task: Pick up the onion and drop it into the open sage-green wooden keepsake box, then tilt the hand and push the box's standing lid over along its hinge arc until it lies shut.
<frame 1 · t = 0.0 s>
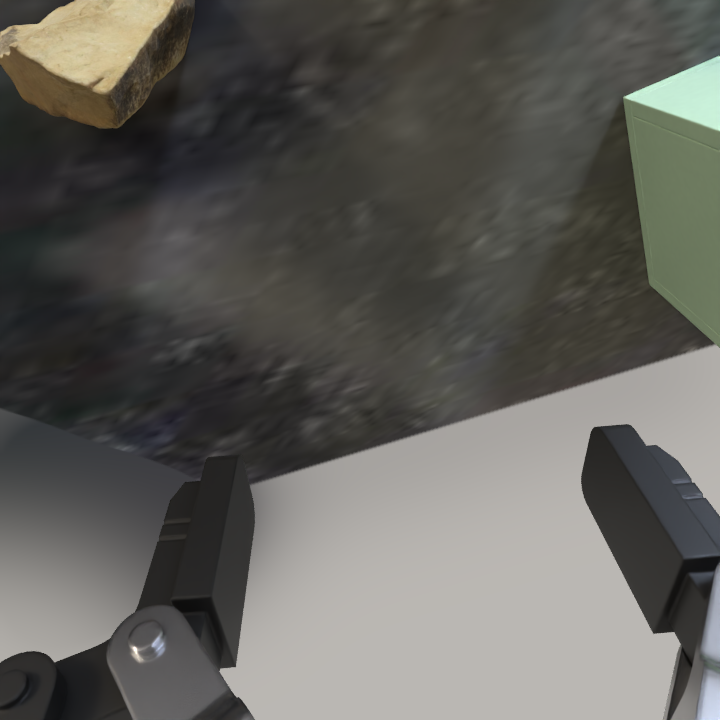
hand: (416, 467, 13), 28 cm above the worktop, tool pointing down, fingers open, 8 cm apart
rock: (102, 29, 31), on the worktop
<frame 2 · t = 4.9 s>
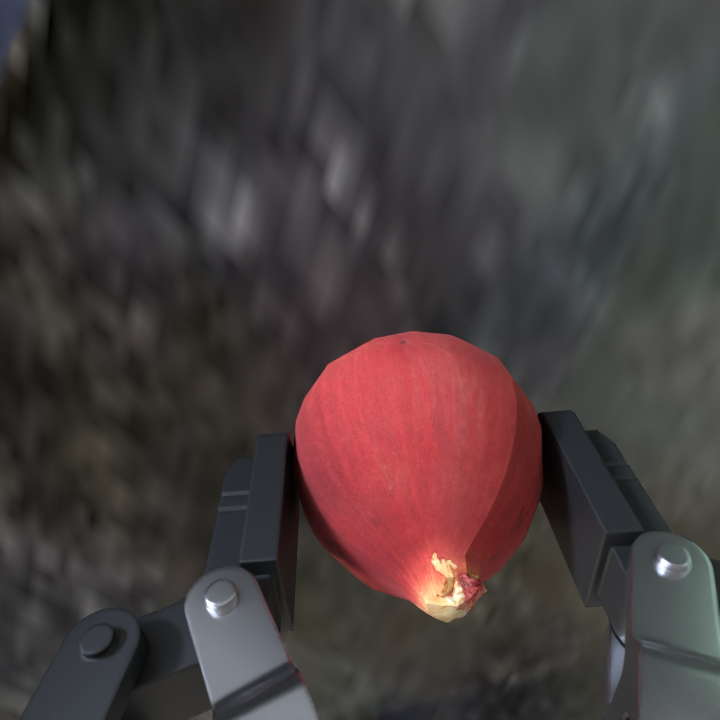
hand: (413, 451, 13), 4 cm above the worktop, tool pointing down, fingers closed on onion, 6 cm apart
onion: (396, 363, 17), on the worktop, touching gripper
when the fingers open (12 cm above the worktop, at t = 11.2 s): onion drops 7 cm, resting on chest.
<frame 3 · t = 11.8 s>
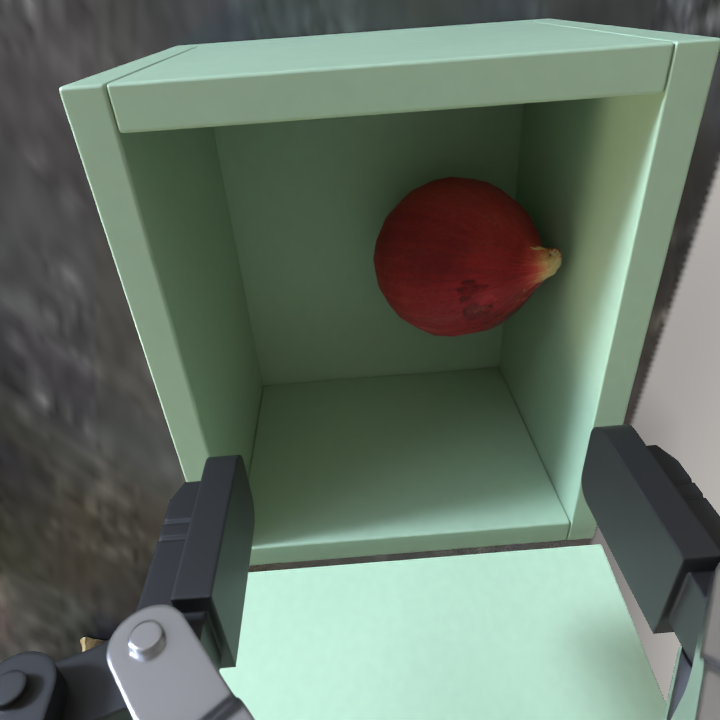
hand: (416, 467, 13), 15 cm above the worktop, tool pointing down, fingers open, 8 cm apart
chest: (373, 236, 25), on the worktop
onion: (382, 250, 24), point 2 cm above the worktop, touching chest
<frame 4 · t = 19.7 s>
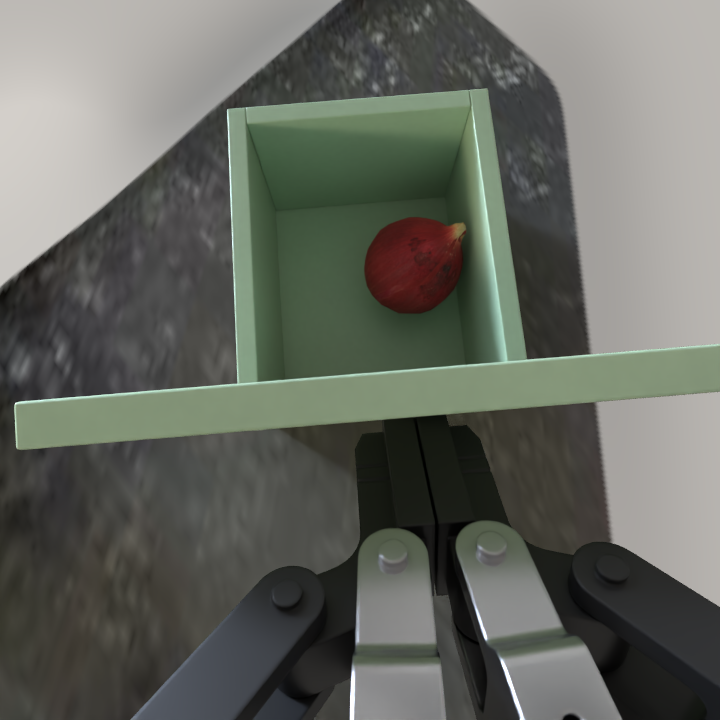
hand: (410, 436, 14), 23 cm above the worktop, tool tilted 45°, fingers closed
chest: (368, 303, 39), on the worktop
lid: (397, 392, 18), point 20 cm above the worktop, hinge at 98.3°
onion: (372, 294, 37), point 2 cm above the worktop, touching chest
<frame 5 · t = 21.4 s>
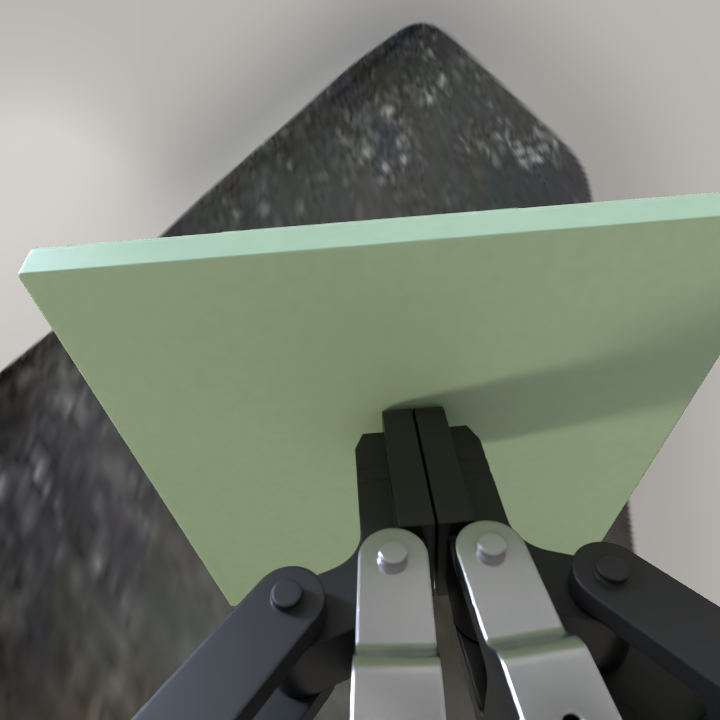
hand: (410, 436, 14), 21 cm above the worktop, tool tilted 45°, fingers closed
lid: (407, 472, 16), point 19 cm above the worktop, hinge at 59.3°, touching gripper
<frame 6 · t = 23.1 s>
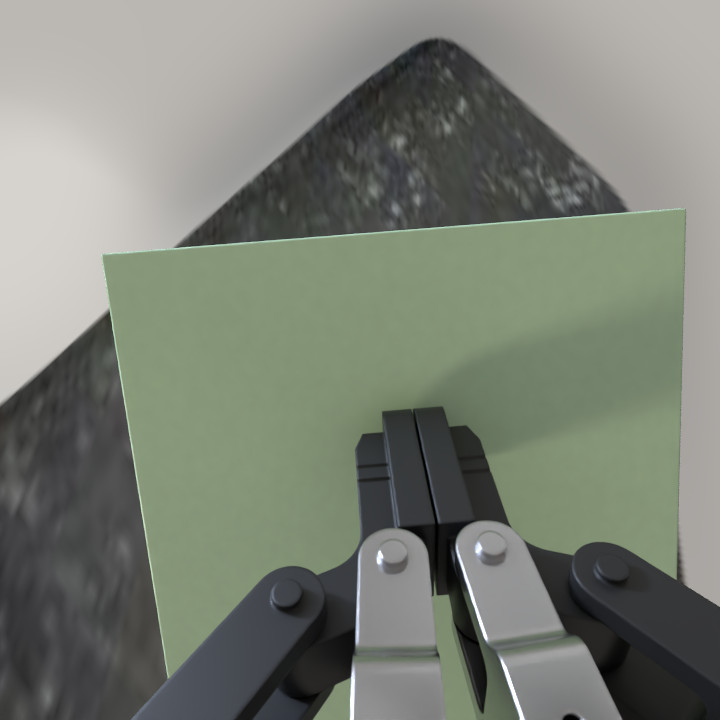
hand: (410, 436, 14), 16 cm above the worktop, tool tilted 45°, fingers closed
lid: (414, 549, 15), point 15 cm above the worktop, hinge at 21.7°, touching gripper
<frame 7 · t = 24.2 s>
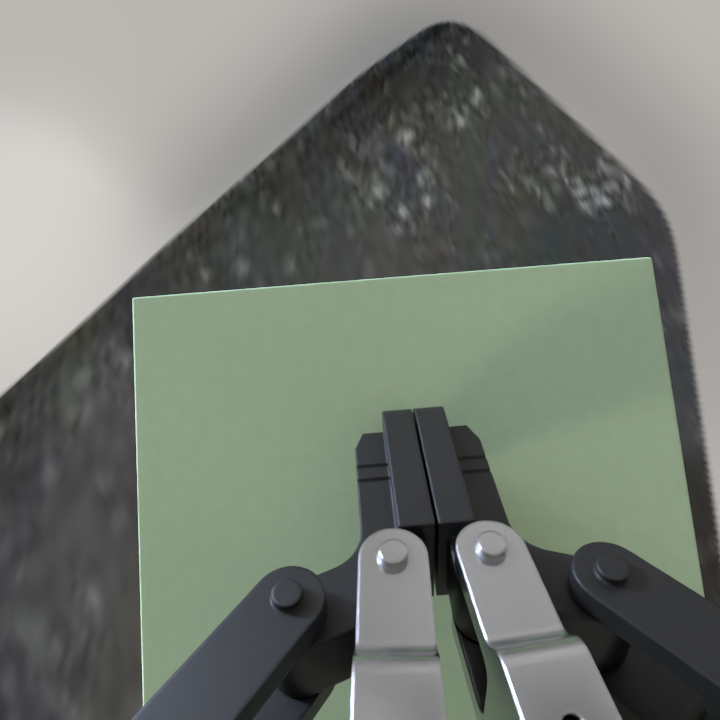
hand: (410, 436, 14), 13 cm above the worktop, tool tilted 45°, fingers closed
lid: (421, 602, 14), point 12 cm above the worktop, hinge at 3.8°, touching gripper
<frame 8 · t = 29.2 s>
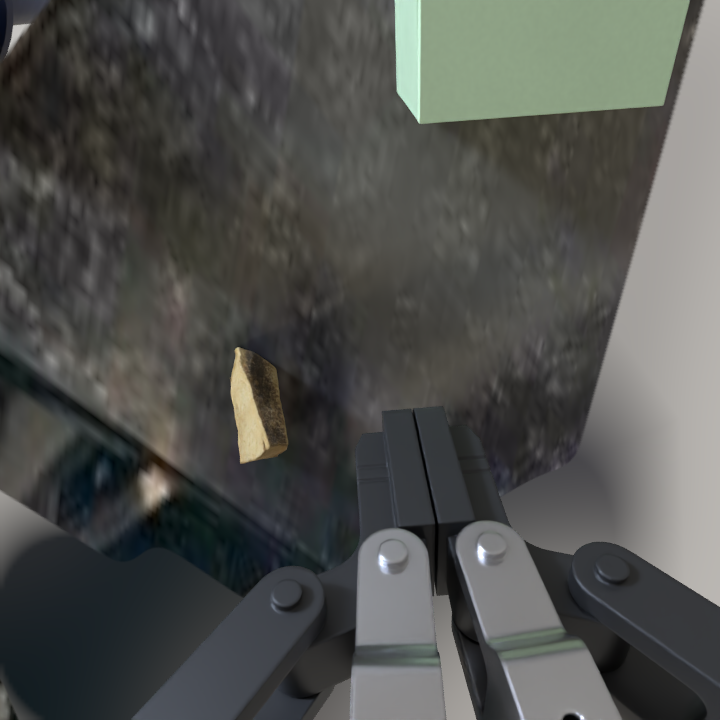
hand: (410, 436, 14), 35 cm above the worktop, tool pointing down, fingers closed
rock: (251, 396, 56), on the worktop
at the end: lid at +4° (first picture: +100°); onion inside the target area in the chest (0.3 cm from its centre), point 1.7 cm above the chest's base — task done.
